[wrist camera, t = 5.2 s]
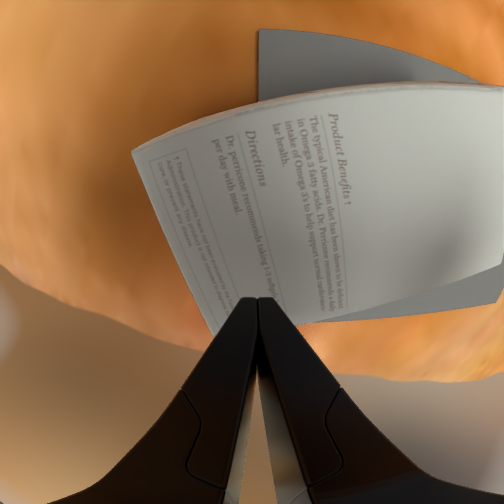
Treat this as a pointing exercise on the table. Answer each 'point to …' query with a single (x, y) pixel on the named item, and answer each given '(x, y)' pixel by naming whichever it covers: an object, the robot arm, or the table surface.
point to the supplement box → (333, 196)
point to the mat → (356, 73)
